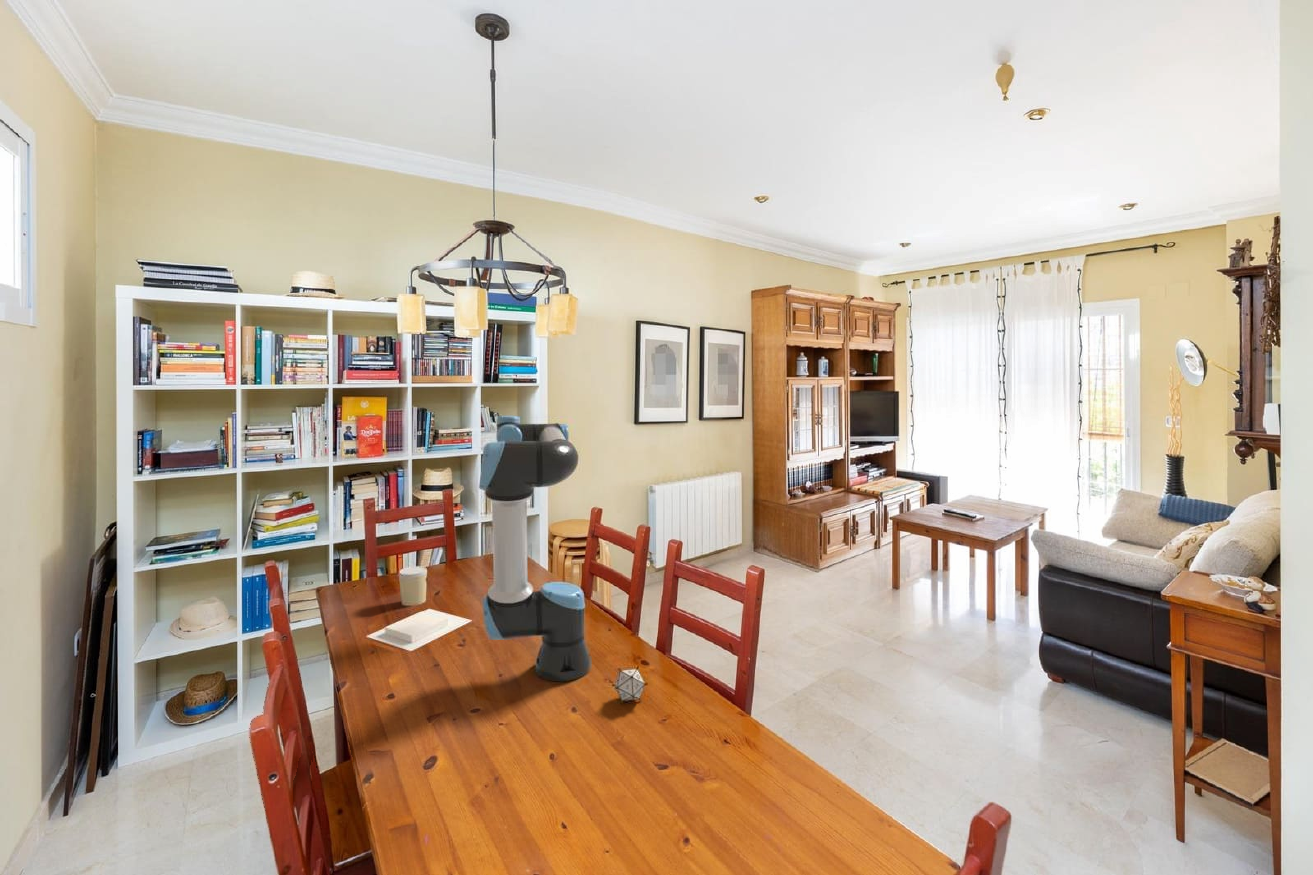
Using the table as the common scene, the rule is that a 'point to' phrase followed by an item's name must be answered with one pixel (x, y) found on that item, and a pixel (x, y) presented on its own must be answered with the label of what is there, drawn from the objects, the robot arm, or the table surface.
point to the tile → (416, 626)
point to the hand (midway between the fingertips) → (510, 531)
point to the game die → (629, 684)
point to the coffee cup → (413, 585)
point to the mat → (453, 624)
